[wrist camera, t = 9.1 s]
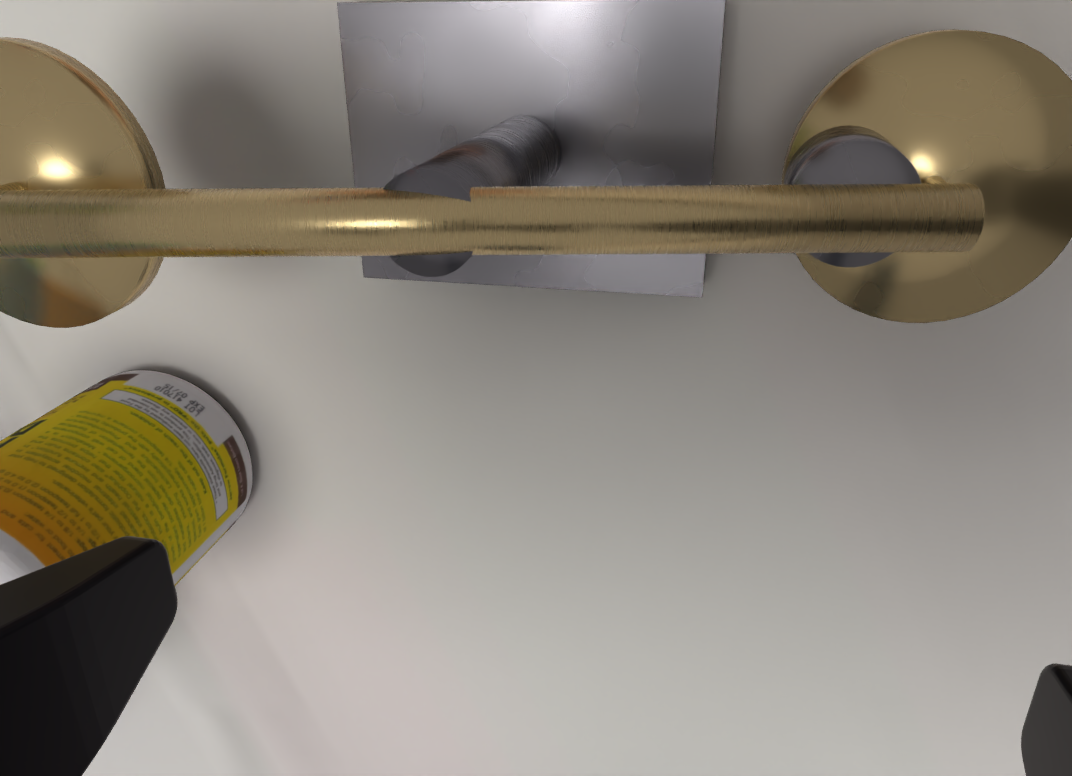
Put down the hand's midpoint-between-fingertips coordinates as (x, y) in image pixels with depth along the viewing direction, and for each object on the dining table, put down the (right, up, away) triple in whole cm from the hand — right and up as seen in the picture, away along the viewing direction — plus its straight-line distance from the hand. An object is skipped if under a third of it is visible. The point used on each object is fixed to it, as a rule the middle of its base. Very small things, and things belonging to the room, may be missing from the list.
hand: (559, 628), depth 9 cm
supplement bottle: (-11, +1, +17) cm, 20 cm away
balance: (0, +8, +10) cm, 13 cm away
